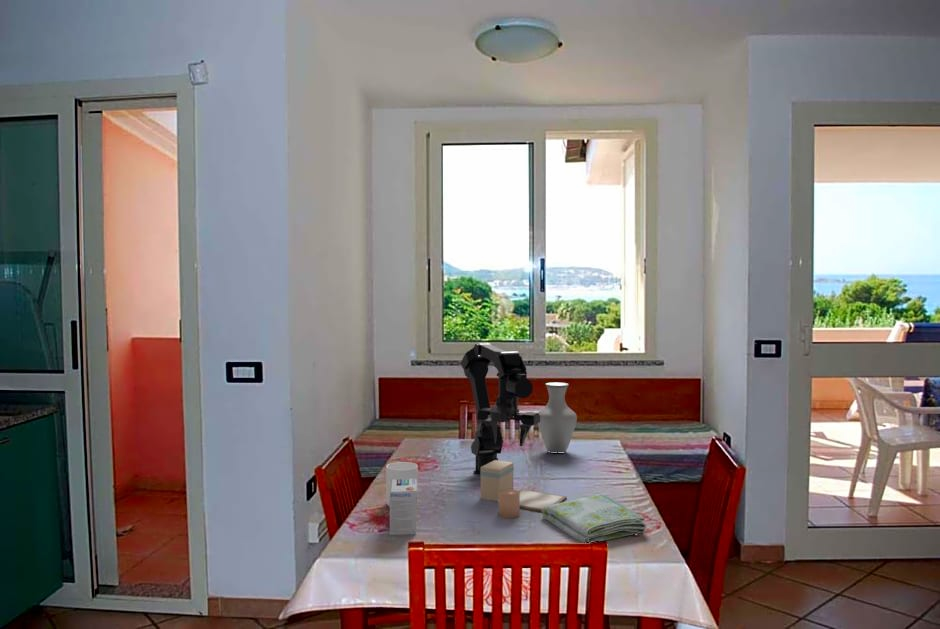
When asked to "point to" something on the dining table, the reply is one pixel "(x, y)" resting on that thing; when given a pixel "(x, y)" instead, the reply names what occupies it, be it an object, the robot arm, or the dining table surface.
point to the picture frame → (538, 500)
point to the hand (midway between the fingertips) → (507, 444)
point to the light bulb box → (403, 507)
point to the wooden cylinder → (509, 503)
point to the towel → (594, 518)
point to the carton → (496, 478)
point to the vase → (557, 419)
